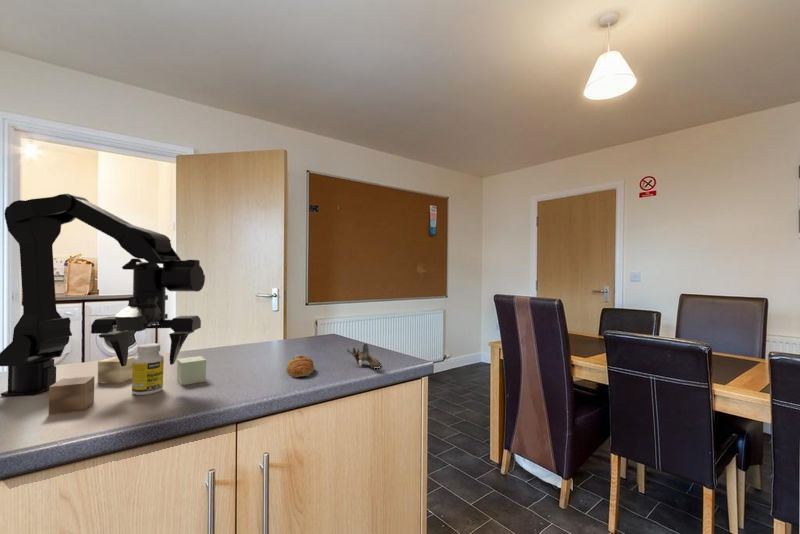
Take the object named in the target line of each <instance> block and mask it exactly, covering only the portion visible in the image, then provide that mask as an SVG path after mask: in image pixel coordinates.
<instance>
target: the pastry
mask: <svg viewBox="0 0 800 534" xmlns="http://www.w3.org/2000/svg"><path fill="white" fill-rule="evenodd" d="M314 369H315V365H314V361H313V360H312V358H311V357H310V358H308V356H305V355H298V356H296V357H292V359H290V360H289V362H288V364H287V365H286V368H285V370H286V372H287V374H288V375H289V376H290V375H291V376H290V377H292V378H299V377H309V376H310V375H312V374H314V373H313V372H314ZM311 373H312V374H311Z"/></svg>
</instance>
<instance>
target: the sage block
mask: <svg viewBox="0 0 800 534" xmlns="http://www.w3.org/2000/svg"><path fill="white" fill-rule="evenodd" d="M176 360H177V363H176V365H177V368H176V381H177V382H178V383H179V385H180V386H184V385H185V386H186V385H191V384H195V383H196V384H197V383H203V382H206V381H207V359H206V358H205V357H204V356H202V355H199V356H191V357H182V358H176Z"/></svg>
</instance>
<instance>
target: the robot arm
mask: <svg viewBox="0 0 800 534" xmlns="http://www.w3.org/2000/svg"><path fill="white" fill-rule="evenodd" d="M76 219H77V220H79V221H80V222H82V223H84V224H86V225H88V226H91V227H92V228H94V229H95V230H98V231H99V232H101V233H103V234H105V235H107V236H108V237H111V238H113V239H114V240H115V241H116V242H118V244H119V246H120V247H121V249H123V250H124V251H125V252H127V253H128V254H129V255H130V256H132V258H130V260H129V261H128V262H126V263H125V264H124V265H122V266H121V268H122V270H125V271H126V270H130V271H131V270H133V272H132V273H133V274H132V276H133V277H132V278H133V280H132V282H133V283H132V296H129V299H128V304H127V306H126V307H123V309H121V310H120V311H118V312H117V313H116V314H115V315H114V316H105V317H101V318H95V320H93V321H92V323H91V325H90V330H91V331H90V332H91V333H90V334H92V335H94V334H98V337H99V338H100V339H101V338H102V339H105V340H106V341H108V342H109V343H110V345H111V347H112V348H113V350H114V352H115V355H116V356H117V357H118V359H119V362H120V364H121V366H126V364H127V359H128V356H129V346H130V345H129V342H130V331H134V332H142V331H146V329H171V330H172V331H173V332H171V333H169V334H168V335H169V338H170V349H169V350H170V351H169V364H170V365H171V366H172V365H174V364H175V363H176V360H177V359H178V355H179V353H180V352H181V349H182V347H183V345H184V343H185V341H186V340H187V337H188V336H189V335H190V334H192V333H195V331H196V330H199V329H201V327H202V325H201V324H202V320H201V317H200V316H199V315H180V316H176V317H173V318H172V319H168V316H169V314H168V313H166V301H168V299H169V295H168V294H167V295H166V290H167V291H169V292H195V293H197V292H200V291H201V290H203V288H204V285H205V281H206V275H205V274H204V270H203V268H202V266H201V264H200V261H201V260H199V259H185V260H182V259H181V258H180V256H179V255H178V254H177V253H176V251H175V249H174V248H173V247H172V243H171V239H170V238H169V237H168V235H165V234H162V233H160V232H156V231H155V230H154V231H153V230H150V229H147V228H144V227H140V226H137V225H134V224H132V223H130V222H128V221H126V220H125V219H123V218H120V216H119V217H118V216H116V215H115V214H113V213H111V212H109V211H107V210H106V209H104V208H102V207H100V206H99V205H96V204H94V203H92V202H90V201H89V200H88V199H87V198H86V197H83V196H80V195H79V196H78V195H74V194H70V193H63V194H61V193H60V194H58V195H55V196H49V197H40V198H39V197H37V198H31V199H27V200H25V199H24V200H22V199H19V200H15V201H13V202H11V203H10V204H9V205H8V206H6V207H5V209H4V220H5V223H6V228H7V231H8V233H10V235H11V237H13V239H14V240H15V241H16V242H17V244H18V245H19V263H20V277H21V292H22V293H21V295H22V307H23V308H22V309H23V311H22V315H21V317H20V318H19V320H18V322H17V323H16V325H15V326H14V327H13V333H12V341H11V342H10V343H9V344H8V345H7V346H6V347H5V348H3V350H2V351H0V367H7V391H3V392H1V393H0V396H1V397H4V396H5V397H6V396H25V395H26V396H27V395H28V396H29V395H38V394H40V393H43V392H45V391H49V387H50V386H51V385H53V384H54V383H56V382H57V366H56V365H55V358H61V357H62V356H63V355H62V354H63V352H64V349H65V347H66V345H68V344H69V343H70V337H72V336H73V333H72V331H71V323H72V322H71V318H70V317H63V316H61V314H60V313H59V312H58V310H57V303H56V302H57V301H56V284H55V267H54V254H53V253H54V252H53V249H54V248H53V244H54V243H55V241H56V240H57V238H58V237H59V236H60V234H61V230H62V226H63V225H65V224H69V223H71V222H73V221H74V220H76ZM142 260H145V261H142ZM161 264H162V267H160V266H159V265H161Z"/></svg>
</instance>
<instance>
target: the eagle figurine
mask: <svg viewBox="0 0 800 534" xmlns="http://www.w3.org/2000/svg"><path fill="white" fill-rule="evenodd" d="M361 347H362V351H360V349H359V348H357V350H356V348H355V347H353V348H352V351H351V350H350V349H349V348H346V351H347V352H348V354H349V355H352V356H353V358H355V359H354V360H355V361H356V363H357V364H358V367H359V366H360V367H362V366H363V364H364V362H365V361H366V362H368V363H369V365H370V368H371V369H372V368H374V367H379V366H380V365H381V366H382V364H381V362H380V361H379V360H378V359H376V357H374V356H372V355H370V349H369V345H368V343H364V344H361Z"/></svg>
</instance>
